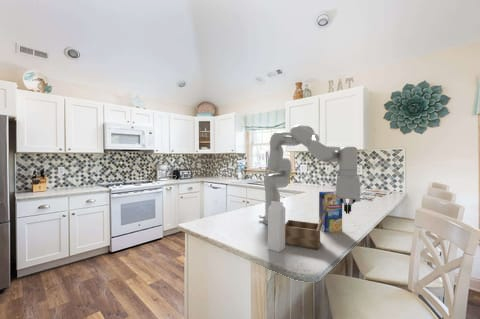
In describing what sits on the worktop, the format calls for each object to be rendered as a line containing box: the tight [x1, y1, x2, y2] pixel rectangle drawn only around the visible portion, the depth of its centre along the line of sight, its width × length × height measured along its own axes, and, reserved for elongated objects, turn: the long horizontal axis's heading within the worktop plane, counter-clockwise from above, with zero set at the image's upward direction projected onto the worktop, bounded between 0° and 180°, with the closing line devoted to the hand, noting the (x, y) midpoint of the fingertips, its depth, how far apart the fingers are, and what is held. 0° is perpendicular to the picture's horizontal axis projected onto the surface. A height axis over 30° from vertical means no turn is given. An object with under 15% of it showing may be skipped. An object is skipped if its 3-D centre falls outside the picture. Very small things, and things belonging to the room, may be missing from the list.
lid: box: [319, 193, 332, 232], centre depth 109 cm, size 16×12×2 cm
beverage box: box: [318, 190, 343, 233], centre depth 134 cm, size 7×11×22 cm, turn 99°
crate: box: [285, 219, 321, 251], centre depth 113 cm, size 16×12×9 cm
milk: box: [267, 201, 286, 253], centre depth 106 cm, size 6×6×22 cm
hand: (347, 213), depth 105 cm, fingers closed
